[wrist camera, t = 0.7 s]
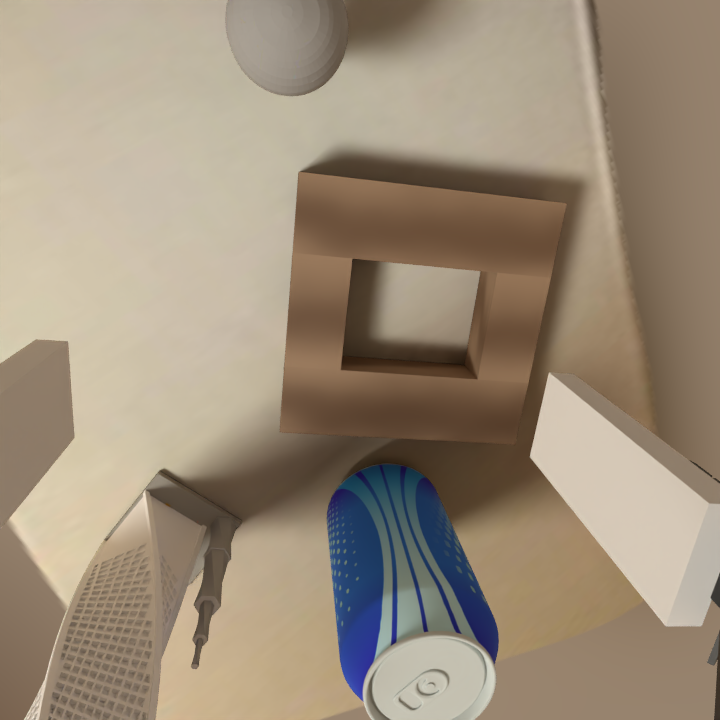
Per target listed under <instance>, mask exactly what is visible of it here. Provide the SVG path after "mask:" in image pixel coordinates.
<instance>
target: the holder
mask: <svg viewBox="0 0 720 720" xmlns="http://www.w3.org/2000/svg"><path fill="white" fill-rule="evenodd" d="M566 205H567V203H560V202H551V201H543V200H534V199H526V198H517V197H509V196H500V195H492V194H483V193H475V192H466V191H458V190H449V189H441V188H432V187H424V186H415V185H407V184H398V183H390V182H381V181H373V180H364V179H356V178H347V177H339V176H331V175H322V174H314V173H305V172H299V173H298V187H297V201H296V214H295V228H294V241H293V255H292V268H291V282H290V296H289V309H288V323H287V336H286V350H285V364H284V377H283V391H282V404H281V419H280V432H284V433H304V434H323V435H342V436H361V437H381V438H400V439H419V440H438V441H458V442H477V443H496V444H515V443H516V439H517V434H518V429H519V425H520V420H521V415H522V411H523V406H524V401H525V397H526V392H527V387H528V383H529V378H530V373H531V369H532V364H533V359H534V355H535V350H536V345H537V341H538V336H539V331H540V327H541V322H542V317H543V313H544V308H545V303H546V299H547V294H548V289H549V285H550V280H551V275H552V271H553V266H554V261H555V257H556V252H557V247H558V243H559V238H560V233H561V229H562V224H563V219H564V215H565V210H566ZM352 259H362V260H372V261H382V262H393V263H403V264H413V265H424V266H434V267H444V268H454V269H465V270H475V271H481V273H480V279H479V284H478V290H477V296H476V301H475V307H474V313H473V319H472V324H471V330H470V336H469V341H468V347H467V353H466V358H465V364H464V365H459V364H445V363H431V362H417V361H404V360H390V359H376V358H362V357H348V356H342V353H343V343H344V334H345V324H346V315H347V305H348V296H349V286H350V277H351V268H352Z"/></svg>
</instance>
